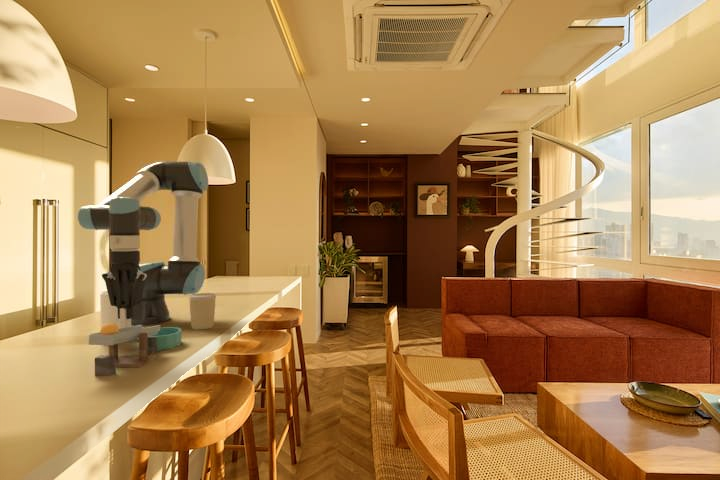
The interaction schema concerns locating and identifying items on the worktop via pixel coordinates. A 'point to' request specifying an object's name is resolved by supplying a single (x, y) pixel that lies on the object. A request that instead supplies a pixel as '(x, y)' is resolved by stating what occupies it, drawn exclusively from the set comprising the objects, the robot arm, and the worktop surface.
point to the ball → (109, 329)
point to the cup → (108, 311)
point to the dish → (168, 338)
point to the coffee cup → (202, 310)
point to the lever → (123, 335)
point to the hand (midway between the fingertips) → (125, 329)
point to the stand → (125, 357)
